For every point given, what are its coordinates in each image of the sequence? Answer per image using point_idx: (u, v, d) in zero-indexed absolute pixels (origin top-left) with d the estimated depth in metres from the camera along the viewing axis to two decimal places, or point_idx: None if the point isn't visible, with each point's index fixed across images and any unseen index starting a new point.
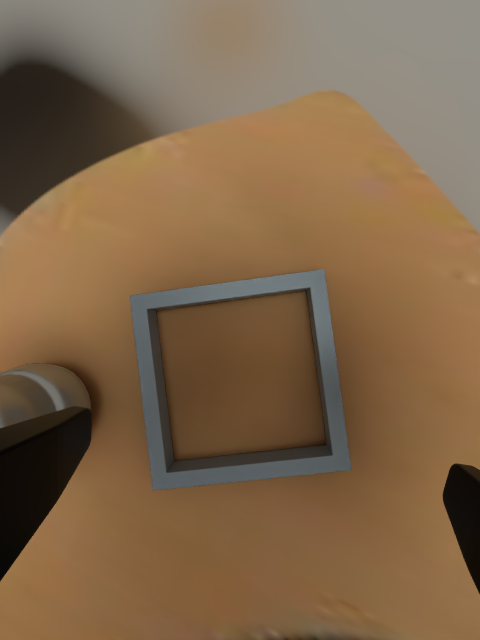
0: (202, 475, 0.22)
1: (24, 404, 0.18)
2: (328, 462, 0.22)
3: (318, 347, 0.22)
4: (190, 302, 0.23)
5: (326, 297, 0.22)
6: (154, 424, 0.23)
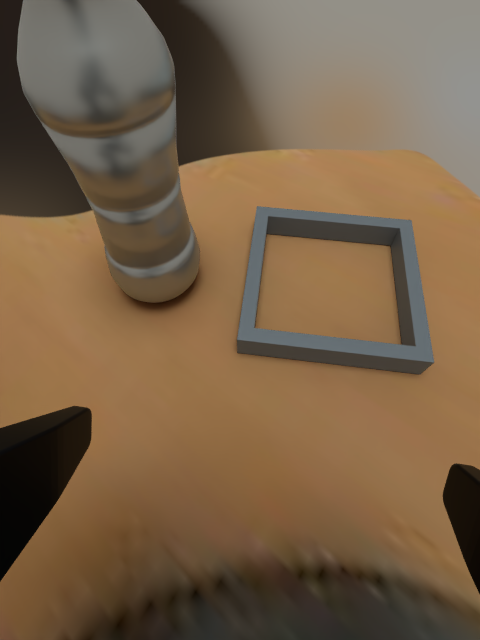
0: (287, 337, 0.23)
1: (183, 200, 0.23)
2: (411, 351, 0.23)
3: (404, 266, 0.26)
4: (303, 219, 0.29)
5: (412, 236, 0.28)
6: (253, 289, 0.25)
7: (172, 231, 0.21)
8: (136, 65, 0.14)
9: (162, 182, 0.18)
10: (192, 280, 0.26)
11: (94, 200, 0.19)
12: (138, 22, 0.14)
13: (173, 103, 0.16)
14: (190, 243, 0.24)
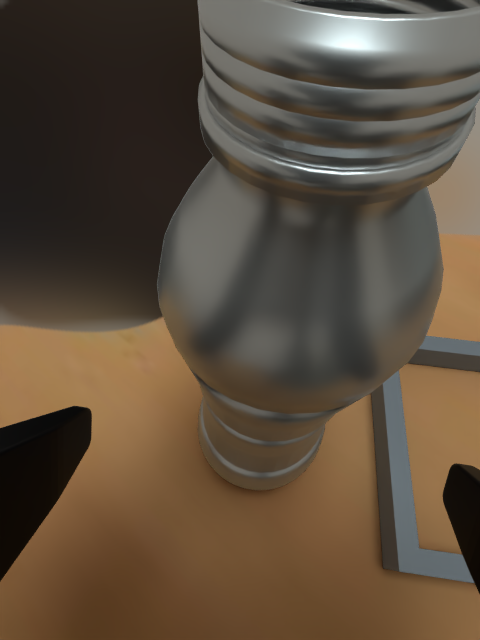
0: None
1: None
2: None
3: None
4: (443, 351, 0.22)
5: None
6: (402, 474, 0.18)
7: (320, 430, 0.14)
8: (422, 305, 0.07)
9: None
10: None
11: (231, 427, 0.11)
12: (435, 222, 0.06)
13: None
14: None
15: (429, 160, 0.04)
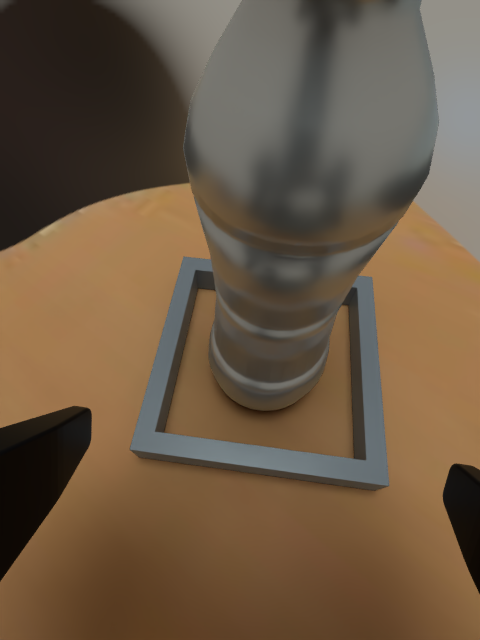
0: (197, 445, 0.17)
1: None
2: (360, 468, 0.17)
3: (359, 340, 0.21)
4: None
5: (372, 299, 0.22)
6: (162, 373, 0.19)
7: (325, 338, 0.15)
8: (419, 142, 0.08)
9: (349, 289, 0.12)
10: None
11: (245, 314, 0.12)
12: None
13: None
14: None
15: None
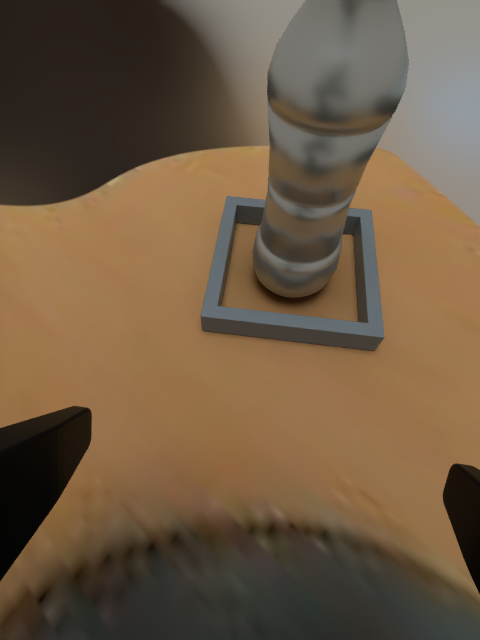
0: (248, 314, 0.25)
1: None
2: (363, 327, 0.24)
3: (362, 251, 0.28)
4: None
5: (371, 224, 0.29)
6: (218, 271, 0.27)
7: (341, 227, 0.22)
8: (397, 69, 0.15)
9: (358, 180, 0.19)
10: None
11: (292, 196, 0.19)
12: (403, 29, 0.15)
13: None
14: (341, 239, 0.25)
15: None
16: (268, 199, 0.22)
